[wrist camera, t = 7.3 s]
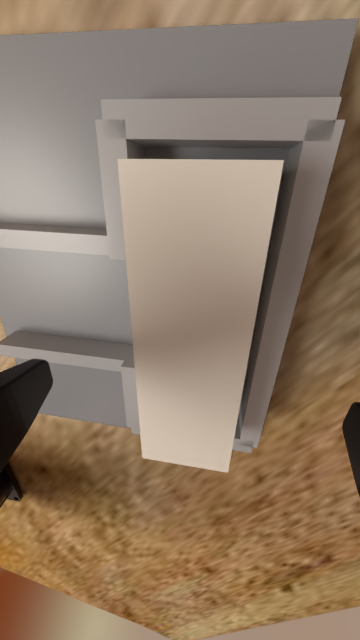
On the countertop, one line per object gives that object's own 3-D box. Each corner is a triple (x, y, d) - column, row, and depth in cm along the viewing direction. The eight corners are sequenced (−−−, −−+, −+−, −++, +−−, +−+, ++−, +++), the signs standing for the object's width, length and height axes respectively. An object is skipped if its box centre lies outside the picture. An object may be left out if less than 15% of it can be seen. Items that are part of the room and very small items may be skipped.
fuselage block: (227, 399, 15) (228, 472, 12) (163, 390, 16) (142, 457, 12) (261, 169, 10) (284, 160, 6) (159, 167, 10) (117, 158, 6)
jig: (250, 435, 18) (253, 478, 15) (41, 402, 20) (14, 435, 18) (345, 35, 8) (397, -30, 6) (-70, 51, 11) (-167, 8, 8)
